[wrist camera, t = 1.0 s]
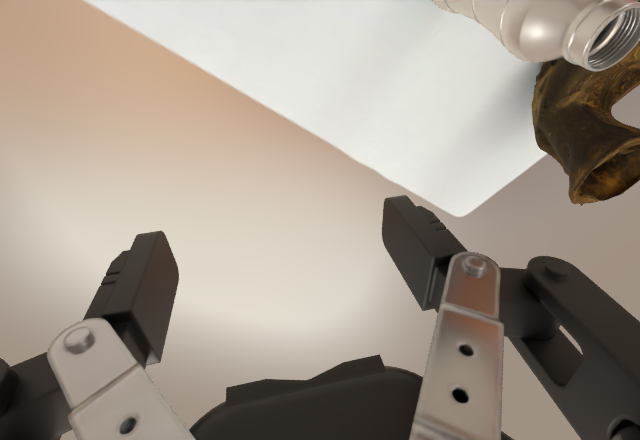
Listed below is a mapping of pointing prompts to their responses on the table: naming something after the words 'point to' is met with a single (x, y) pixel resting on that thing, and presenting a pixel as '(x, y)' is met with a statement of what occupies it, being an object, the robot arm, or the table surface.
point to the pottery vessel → (588, 125)
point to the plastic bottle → (558, 28)
